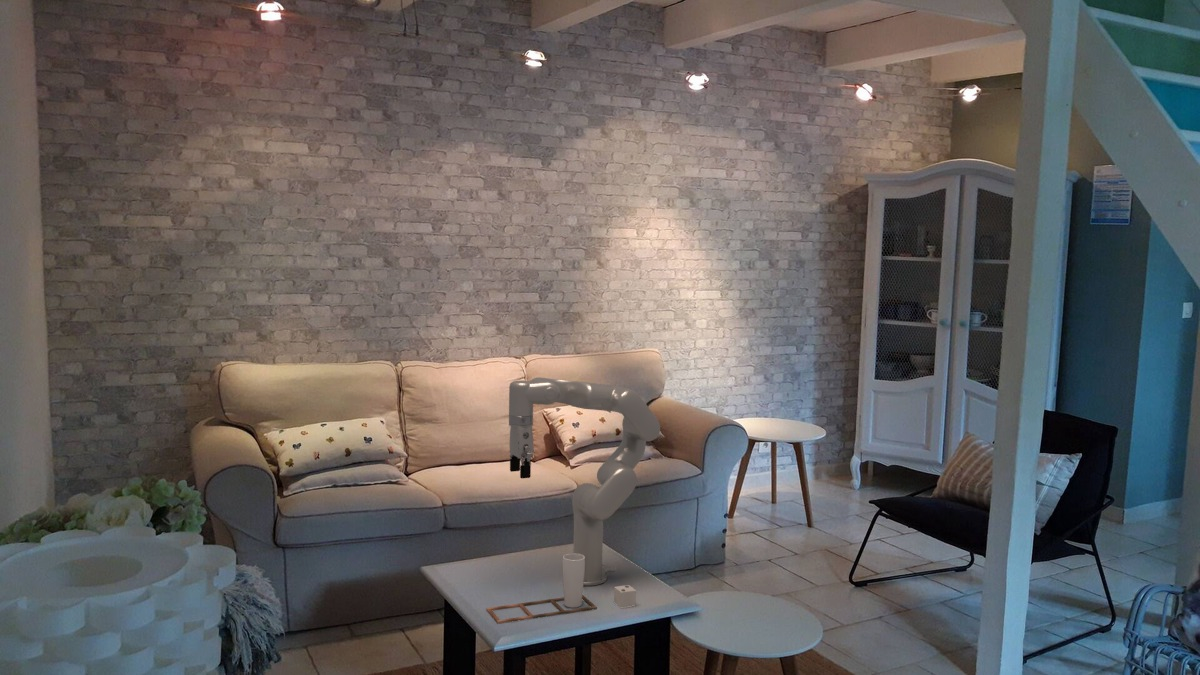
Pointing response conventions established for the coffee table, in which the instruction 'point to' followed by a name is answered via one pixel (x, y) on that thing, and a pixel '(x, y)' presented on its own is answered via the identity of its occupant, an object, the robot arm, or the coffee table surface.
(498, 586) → the coffee table surface
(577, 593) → the drinking glass
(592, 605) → the copper window frame
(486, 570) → the coffee table surface
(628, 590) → the die
